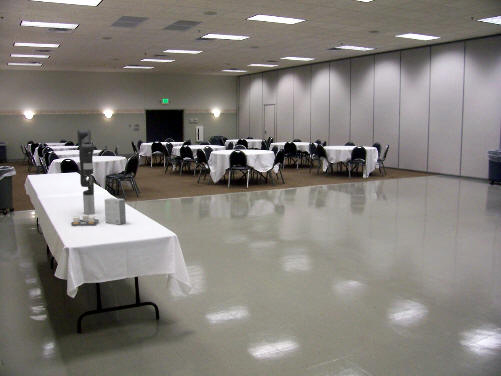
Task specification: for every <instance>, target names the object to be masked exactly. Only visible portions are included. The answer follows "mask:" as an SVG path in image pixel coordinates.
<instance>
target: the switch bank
mask: <svg viewBox="0 0 501 376" xmlns="http://www.w3.org/2000/svg"><path fill="white" fill-rule="evenodd" d="M99 222H100V219H99V218H97V219H96V218H95V222H89V221H88V222H83V219H80V222H73V221H72V222H71V223H70V224H71V227H88V226H89V227H90V226H97V225H98V224H99Z"/></svg>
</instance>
